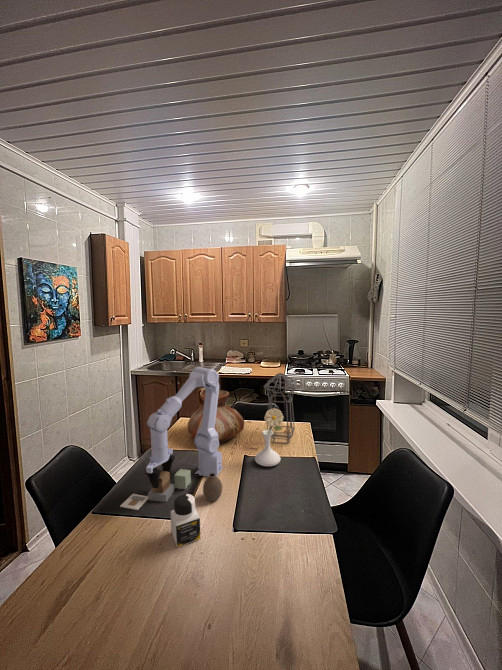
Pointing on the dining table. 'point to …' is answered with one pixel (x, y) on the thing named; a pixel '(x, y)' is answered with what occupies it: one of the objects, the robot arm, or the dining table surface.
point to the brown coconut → (212, 487)
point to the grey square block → (161, 494)
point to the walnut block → (163, 482)
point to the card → (134, 501)
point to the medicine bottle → (185, 520)
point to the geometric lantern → (282, 401)
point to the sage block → (182, 478)
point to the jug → (217, 417)
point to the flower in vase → (267, 454)
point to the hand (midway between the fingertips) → (161, 481)
